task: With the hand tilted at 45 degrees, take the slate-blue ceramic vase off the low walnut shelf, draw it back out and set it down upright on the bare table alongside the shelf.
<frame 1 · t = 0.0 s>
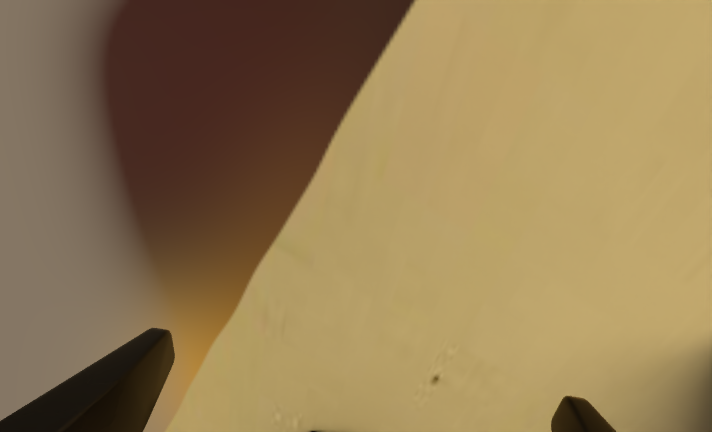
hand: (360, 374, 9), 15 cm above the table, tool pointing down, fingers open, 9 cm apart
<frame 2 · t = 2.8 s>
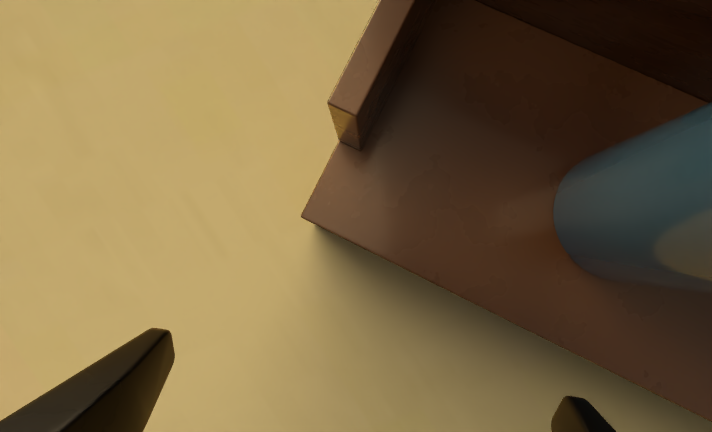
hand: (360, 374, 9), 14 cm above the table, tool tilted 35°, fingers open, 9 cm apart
shelf: (572, 221, 23), on the table
vase: (620, 214, 18), point 4 cm above the table, touching shelf
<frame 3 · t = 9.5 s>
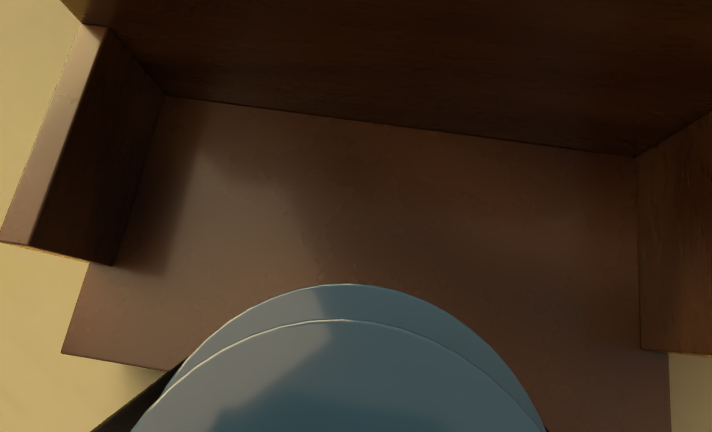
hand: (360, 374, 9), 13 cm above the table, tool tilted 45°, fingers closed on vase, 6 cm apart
shelf: (373, 265, 23), on the table
vase: (354, 400, 14), point 8 cm above the table, touching gripper
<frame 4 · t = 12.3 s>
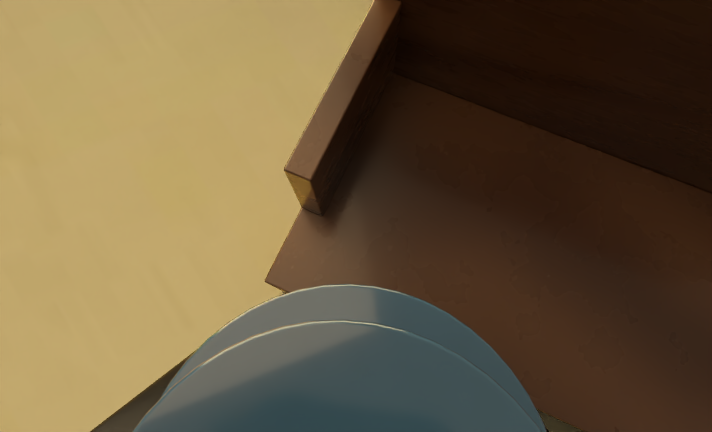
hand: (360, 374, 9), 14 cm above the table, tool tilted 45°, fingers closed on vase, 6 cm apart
shelf: (532, 280, 24), on the table
vase: (354, 401, 14), point 9 cm above the table, touching gripper
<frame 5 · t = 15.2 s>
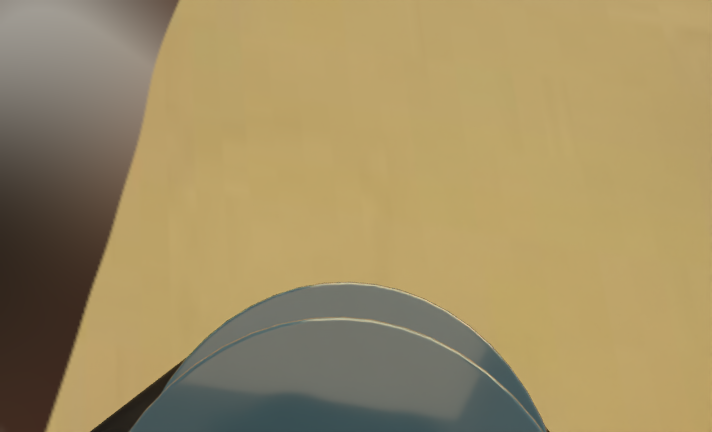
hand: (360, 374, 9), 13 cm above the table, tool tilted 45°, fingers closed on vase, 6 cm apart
vase: (354, 400, 14), point 7 cm above the table, touching gripper
when the fingers open (5 cm above the table, at t = 17.7 s): vase stays where it is, on the table.
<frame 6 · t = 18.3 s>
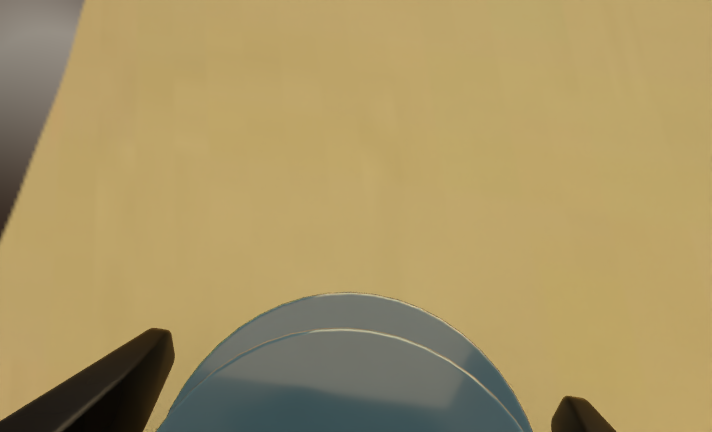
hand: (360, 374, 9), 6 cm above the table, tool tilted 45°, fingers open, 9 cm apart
vase: (354, 400, 15), on the table
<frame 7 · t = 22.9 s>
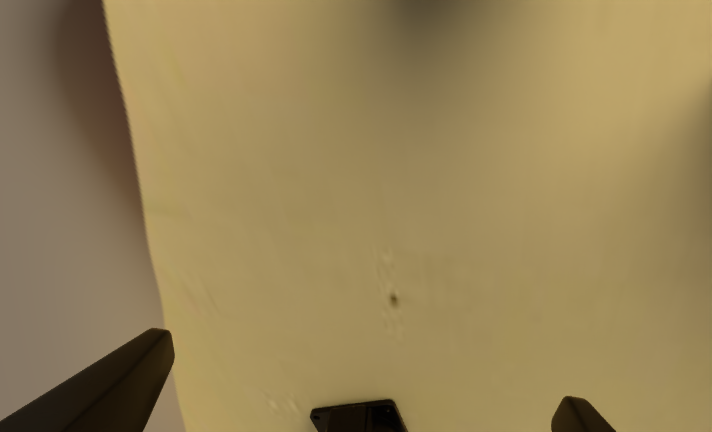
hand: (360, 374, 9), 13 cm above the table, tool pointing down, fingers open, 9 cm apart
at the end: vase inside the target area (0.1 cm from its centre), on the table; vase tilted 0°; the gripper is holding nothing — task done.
